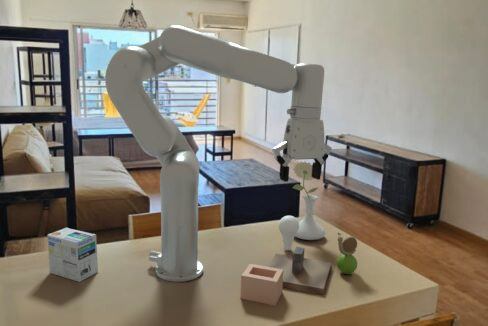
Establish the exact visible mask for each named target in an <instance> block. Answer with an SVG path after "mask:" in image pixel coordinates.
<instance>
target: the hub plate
mask: <svg viewBox="0 0 488 326" xmlns="http://www.w3.org/2000/svg"><path fill="white" fill-rule="evenodd" d="M267 267H272V268H277V269H283V286H282V288H287V289H292V290H296V291H298V290H299V291H301V292H302V291H304V292H307V293H308V292H309V293H313V294H318V295H324V292H325V290H326V289H325V288H326V285H327V281H328V279H329V277H330V276H329V275H330V273H331V270H332V269H331V268H332V262H329V261H324V260H317V259H311V258H306V257H305V247H300V246H296V247H295V249H294V250H293V252H292V255H288V254H280V253H274V256H273V257H272V259H271V260H270V262H269V263H268V265H267Z"/></svg>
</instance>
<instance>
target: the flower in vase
mask: <svg viewBox="0 0 488 326" xmlns="http://www.w3.org/2000/svg"><path fill="white" fill-rule="evenodd" d="M292 170H293V171H294V174H296V176H297V177H298V178H299V179H302V180H303V181H302V185H301V184H299V183H298V184H297V183H296V184H295V185H293V186H292V189H295V190H297V191H303V190H304V192H305V193H306V194H303V195H302V198H303V200H304V203H305V204H304V205H305V215H304V217H303V219H301V220H299V221H298V222H299V230H298V231H297V233H296V235H295V236H294V238H298V239H301V240H304V241H305V240H306V241H315V240H321V239H322V238H323V237H325V235H326V231H325V229H324V228H323V227H322V226H321V225H320V224H319V223H318V222H317V221H316V220H315V219H314V216H313V215H314V214H313V212H314V211H313V210H314V206H315V203H316V201H317V199H319V197H318V196H317V195H314V194H311V193H314V192H316V191H317V190H318V189H319V186H318V187H314V188H311V189H309V190H308V191H307V189H306V188H305V180H306V181H312V180H316V179H315V178H313V177H312V164H311V163H310V162H307V161H300V162H297V163H296V164H295V166H293V168H292ZM309 193H310V194H309Z"/></svg>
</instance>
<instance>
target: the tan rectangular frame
mask: <svg viewBox="0 0 488 326" xmlns="http://www.w3.org/2000/svg"><path fill="white" fill-rule="evenodd" d="M282 286H283V269H277V268H272V267H268V266H264V265H259V264H253V263H248V265H247V266H246V269H245V270H244V271H243V272H242V274H241V277H240V299H241V300H245V301H249V302H250V301H251V302H255V303H259V304H260V303H261V304H266V305H272V306H277V303H278V301H279V299H280V297H281V295H282V293H283V287H282Z"/></svg>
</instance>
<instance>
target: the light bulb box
mask: <svg viewBox="0 0 488 326" xmlns="http://www.w3.org/2000/svg"><path fill="white" fill-rule="evenodd" d="M97 244H98V243H97V234H95V233H91V232H86V231H82V230H77V229H74V228H69V227H64V228H62V229H59V230H56V231H53V232H51V233H48V234H47V246H48V265H49V273H50V274H52V275H57V276H59V277H63V278H66V279H68V280H72V281H76V282H78V283H80V282H82V281H84V280H85V279H87V278H89V277H91V276H93V275H95V274H97V273H98V272H99V269H98V265H99V264H98V247H97Z"/></svg>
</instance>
